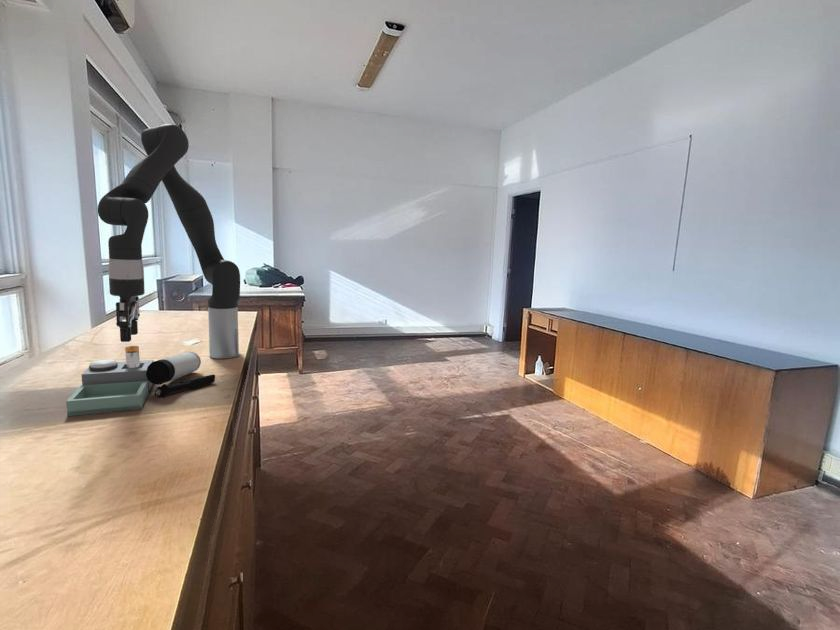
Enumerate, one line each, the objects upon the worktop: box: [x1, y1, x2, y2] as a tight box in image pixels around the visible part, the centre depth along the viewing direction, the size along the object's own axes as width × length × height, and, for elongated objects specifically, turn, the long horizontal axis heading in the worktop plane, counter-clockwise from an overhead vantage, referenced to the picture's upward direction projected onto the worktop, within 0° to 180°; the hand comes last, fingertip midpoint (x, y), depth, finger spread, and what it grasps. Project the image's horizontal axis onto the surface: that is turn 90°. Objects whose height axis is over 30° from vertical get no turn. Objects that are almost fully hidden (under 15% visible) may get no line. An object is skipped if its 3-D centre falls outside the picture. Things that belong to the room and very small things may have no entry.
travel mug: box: [146, 351, 202, 386], centre depth 121 cm, size 6×7×20 cm
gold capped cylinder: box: [124, 345, 141, 369], centre depth 115 cm, size 3×3×11 cm
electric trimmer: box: [153, 373, 216, 399], centre depth 116 cm, size 4×16×3 cm, turn 144°
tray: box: [65, 381, 149, 417], centre depth 104 cm, size 14×11×4 cm
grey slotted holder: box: [80, 359, 155, 393], centre depth 114 cm, size 14×10×7 cm
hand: (129, 337), depth 113 cm, fingers open, 8 cm apart
